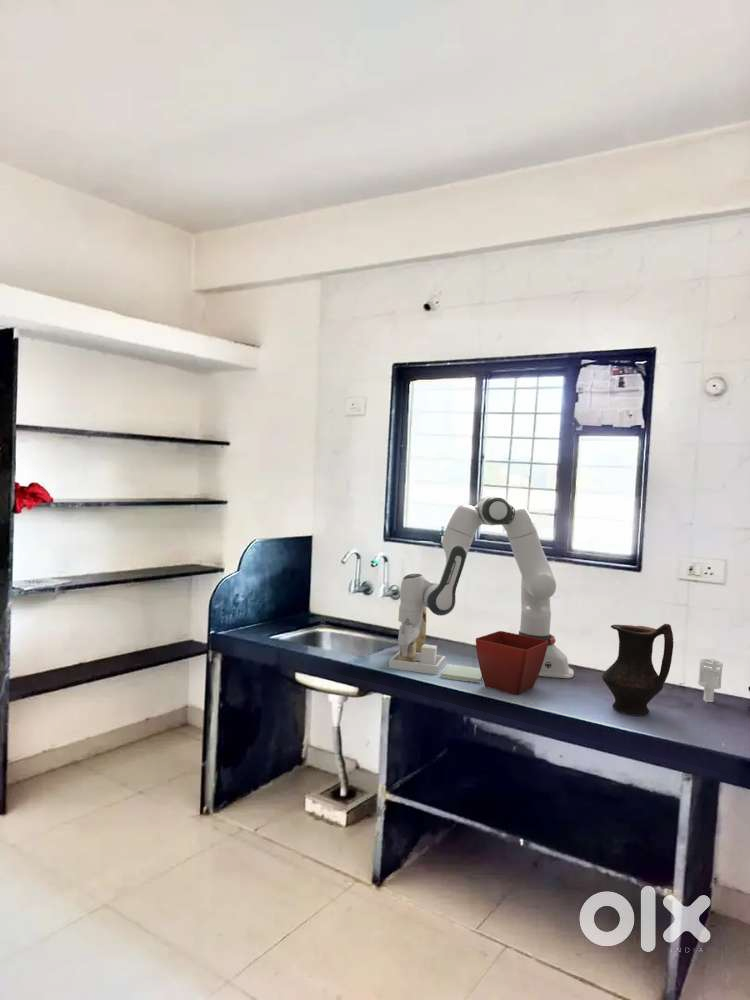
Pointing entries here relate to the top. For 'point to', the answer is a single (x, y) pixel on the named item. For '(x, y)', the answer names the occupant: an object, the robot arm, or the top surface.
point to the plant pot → (510, 661)
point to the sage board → (462, 673)
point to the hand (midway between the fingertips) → (407, 653)
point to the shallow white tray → (417, 664)
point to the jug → (637, 668)
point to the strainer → (710, 677)
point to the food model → (421, 633)
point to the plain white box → (428, 654)
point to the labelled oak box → (409, 653)
